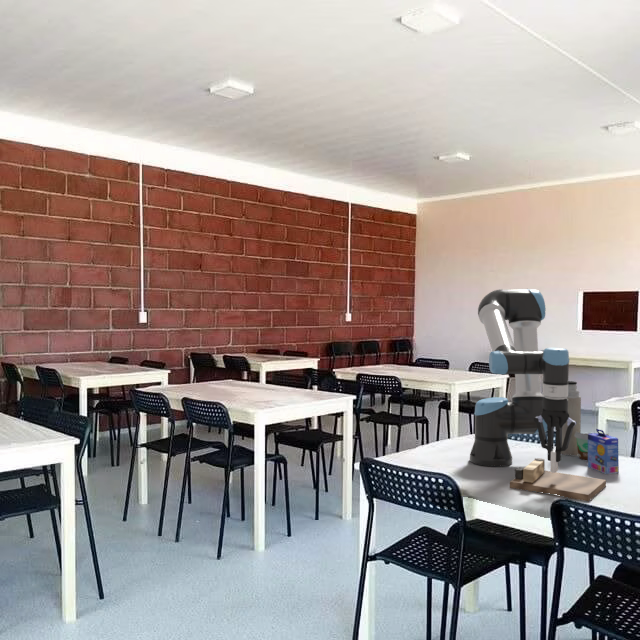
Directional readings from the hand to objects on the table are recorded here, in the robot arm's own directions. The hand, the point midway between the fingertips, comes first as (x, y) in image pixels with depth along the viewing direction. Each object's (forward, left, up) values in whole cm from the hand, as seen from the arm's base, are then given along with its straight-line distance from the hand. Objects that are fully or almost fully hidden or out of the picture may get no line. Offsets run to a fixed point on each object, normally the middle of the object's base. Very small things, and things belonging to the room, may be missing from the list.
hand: (554, 471), depth 209 cm
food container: (-1, +46, -6) cm, 46 cm away
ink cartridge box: (+6, +33, -6) cm, 34 cm away
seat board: (0, +3, -6) cm, 6 cm away
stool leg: (-7, +2, -3) cm, 8 cm away
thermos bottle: (-11, +52, -6) cm, 53 cm away
